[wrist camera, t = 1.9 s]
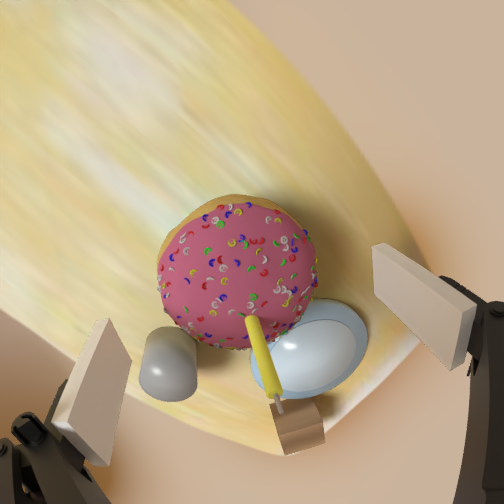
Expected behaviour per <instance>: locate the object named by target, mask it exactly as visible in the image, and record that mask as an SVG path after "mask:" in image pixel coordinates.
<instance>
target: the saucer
mask: <svg viewBox="0 0 504 504" xmlns="http://www.w3.org/2000/svg"><path fill="white" fill-rule="evenodd" d="M301 317H302V319H301V321H300V322H297V323H296V325H295V326H294V328H293V329H292V330H289V333H288V334H287V335H281V338H280V339H276V338H275V340H276V341H275V342H271V341H270V342H271V344H267V345H268V348H269V351H270V354H271V357H272V360H273V363H274V366H275V369H276V372H277V374H278V377H279V380H280V383H281V386H282V389H283V394H282V395H281V396H280V398H286V399H302V398H308V397H313V396H316V395H319V394H322V393H324V392H326V391H328V390H331V389H332V388H334V387H336V386H337V385H339V384H340V383H342V382H343V381H344V380H345V379H346V378H348V377H349V376H350V375H351V374H352V373H353V372H354V370H355V369H356V368H357V367H358V365H359V363H360V362H361V360H362V358H363V356H364V354H365V351H366V347H367V341H368V336H367V330H366V327H365V324H364V322H363V321H362V320H361V318H360V317H359V316H358V315H357V313H356V312H355V311H354V310H353V309H352V308H351V307H349V306H348V305H346V304H344V303H342V302H340V301H336V300H331V299H313V300H312V301H310V302H309V304H308V306H307V308H306V310H305V312H304V315H302V316H301ZM299 320H300V319H299ZM285 334H286V333H285ZM279 337H280V336H279ZM279 337H278V338H279ZM250 364H251V368H252V373H253V376H254V378H255V381H256V382H257V384H258V385H259V386H260V387H261V388H262V389H263V390H265V389H264V385H263V382H262V379H261V375H260V372H259V369H258V365H257V362H256V358H255V355H254V351H253V348H252V347H251V350H250Z"/></svg>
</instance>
